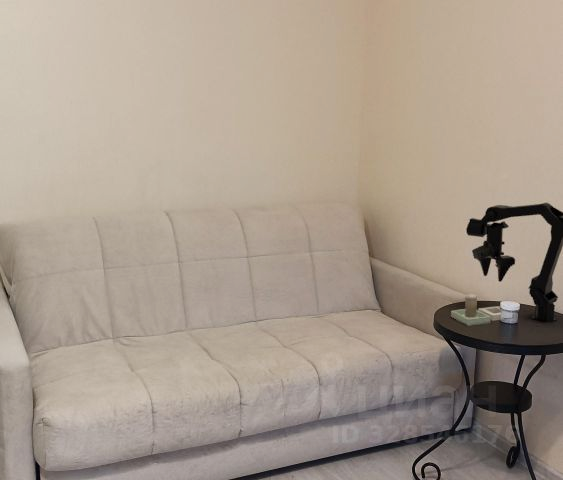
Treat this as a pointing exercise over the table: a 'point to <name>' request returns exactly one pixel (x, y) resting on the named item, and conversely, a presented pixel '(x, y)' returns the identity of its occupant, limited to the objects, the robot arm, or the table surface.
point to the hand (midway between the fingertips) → (492, 278)
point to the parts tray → (479, 319)
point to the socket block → (492, 312)
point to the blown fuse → (470, 305)
